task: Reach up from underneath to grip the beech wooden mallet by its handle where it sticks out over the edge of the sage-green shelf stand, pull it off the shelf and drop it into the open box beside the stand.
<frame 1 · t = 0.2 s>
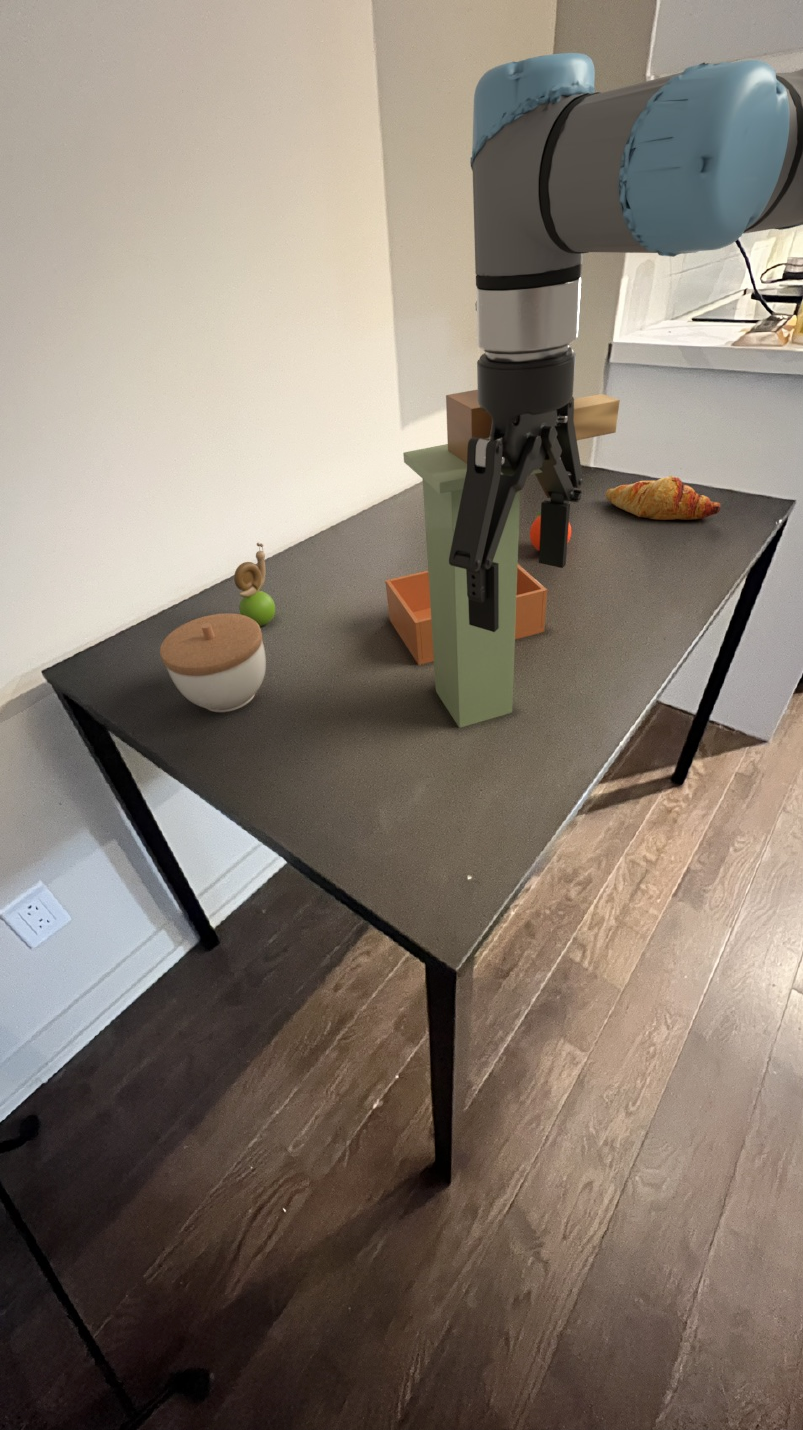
hand: (520, 594, 62), 18 cm above the table, tool pointing down, fingers open, 13 cm apart
lidded bowl: (229, 696, 84), on the table
shelf stand: (487, 697, 79), on the table
snail figurine: (264, 623, 99), on the table
croissant: (658, 512, 118), on the table
clementine: (547, 551, 109), on the table
open box: (464, 626, 92), on the table
mallet: (516, 447, 60), point 30 cm above the table, touching shelf stand
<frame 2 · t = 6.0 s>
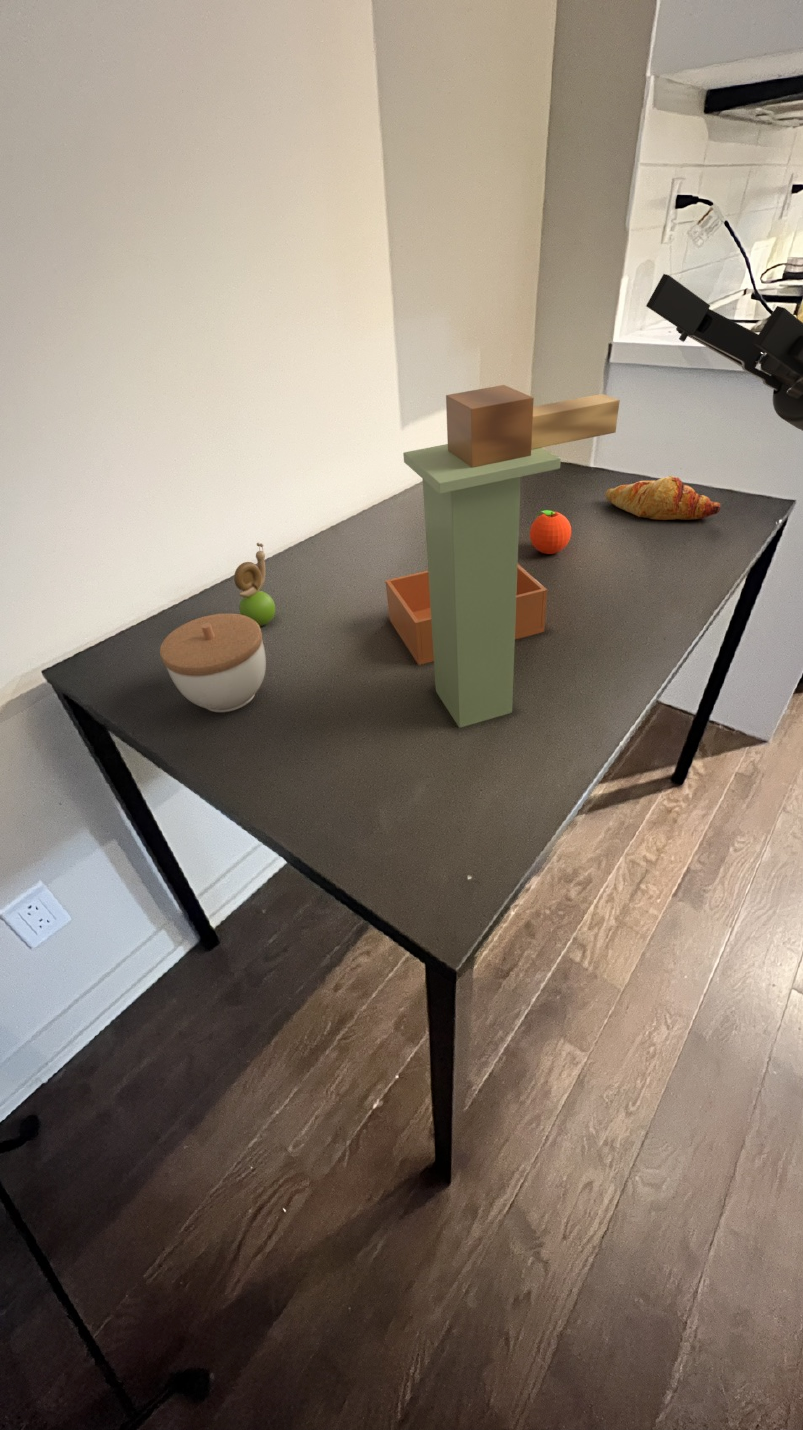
hand: (707, 306, 53), 40 cm above the table, tool pointing upward, fingers open, 13 cm apart
nothing on the table moved.
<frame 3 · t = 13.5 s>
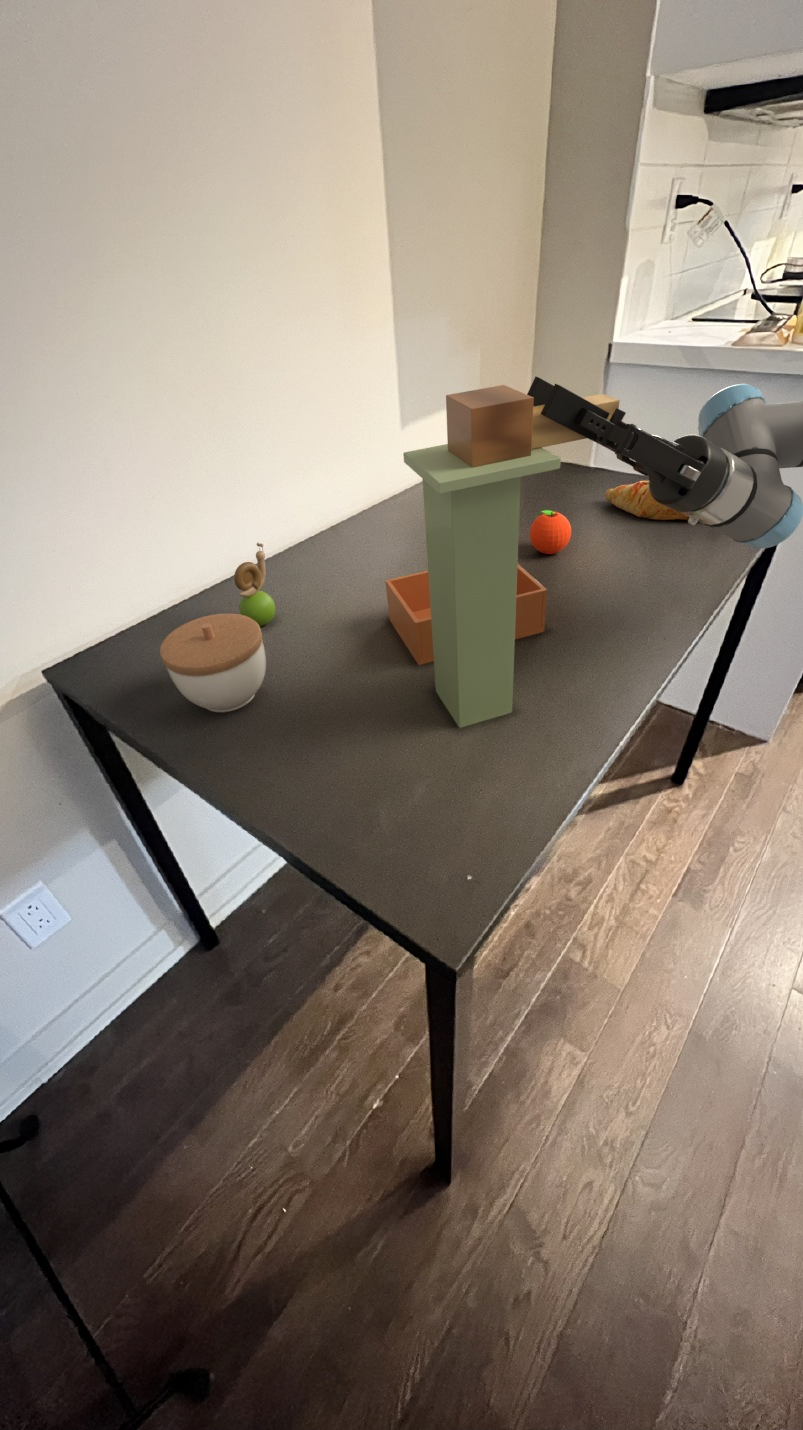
hand: (540, 395, 58), 34 cm above the table, tool pointing upward, fingers closed on mallet, 3 cm apart
mallet: (516, 447, 60), point 30 cm above the table, touching gripper, shelf stand
everything else where it was.
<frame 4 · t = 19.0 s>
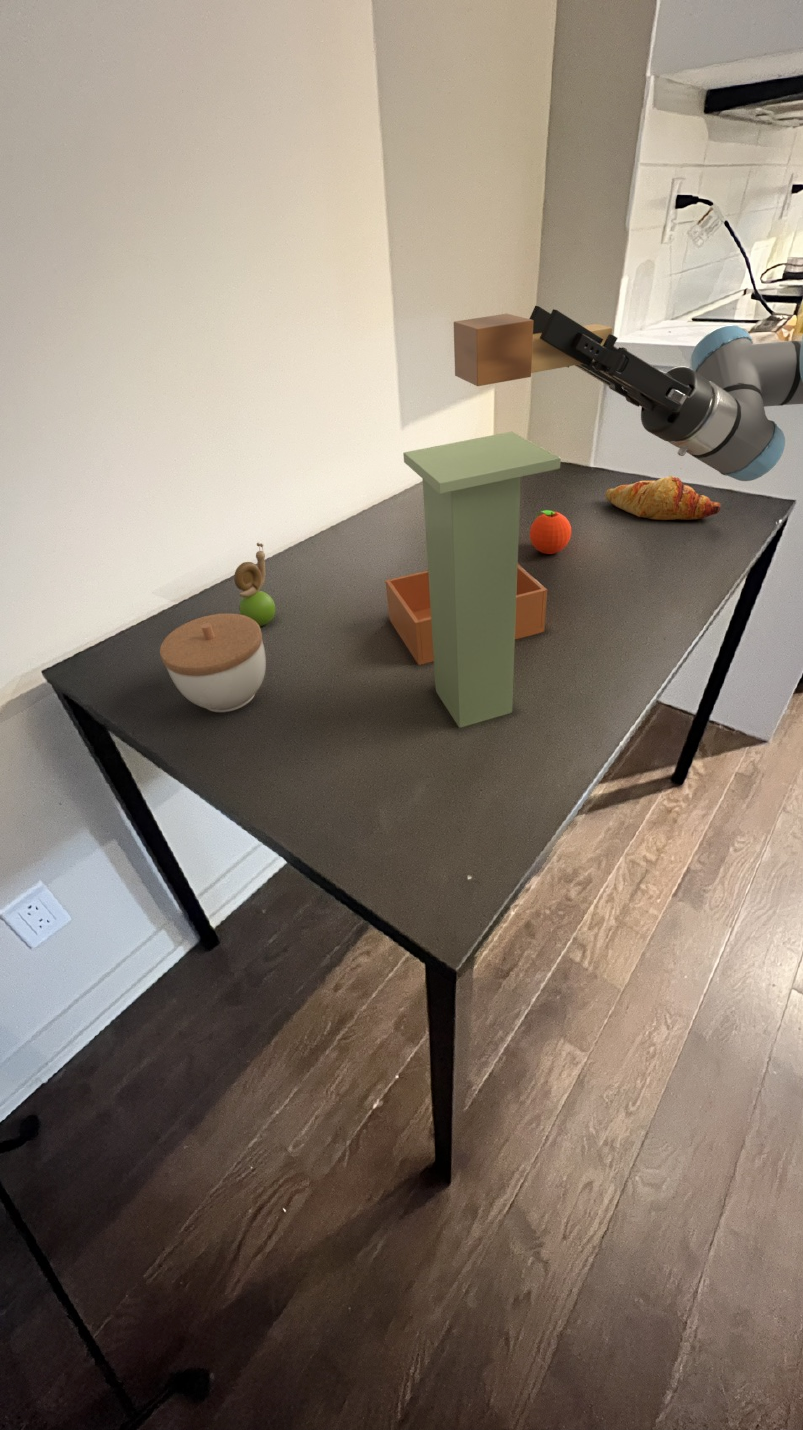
hand: (539, 322, 64), 39 cm above the table, tool pointing upward, fingers closed on mallet, 3 cm apart
mallet: (518, 371, 66), point 34 cm above the table, touching gripper
everything else where it was.
when the fingers open (23 cm above the table, at t = 24.7 s): mallet drops 15 cm, resting on open box.
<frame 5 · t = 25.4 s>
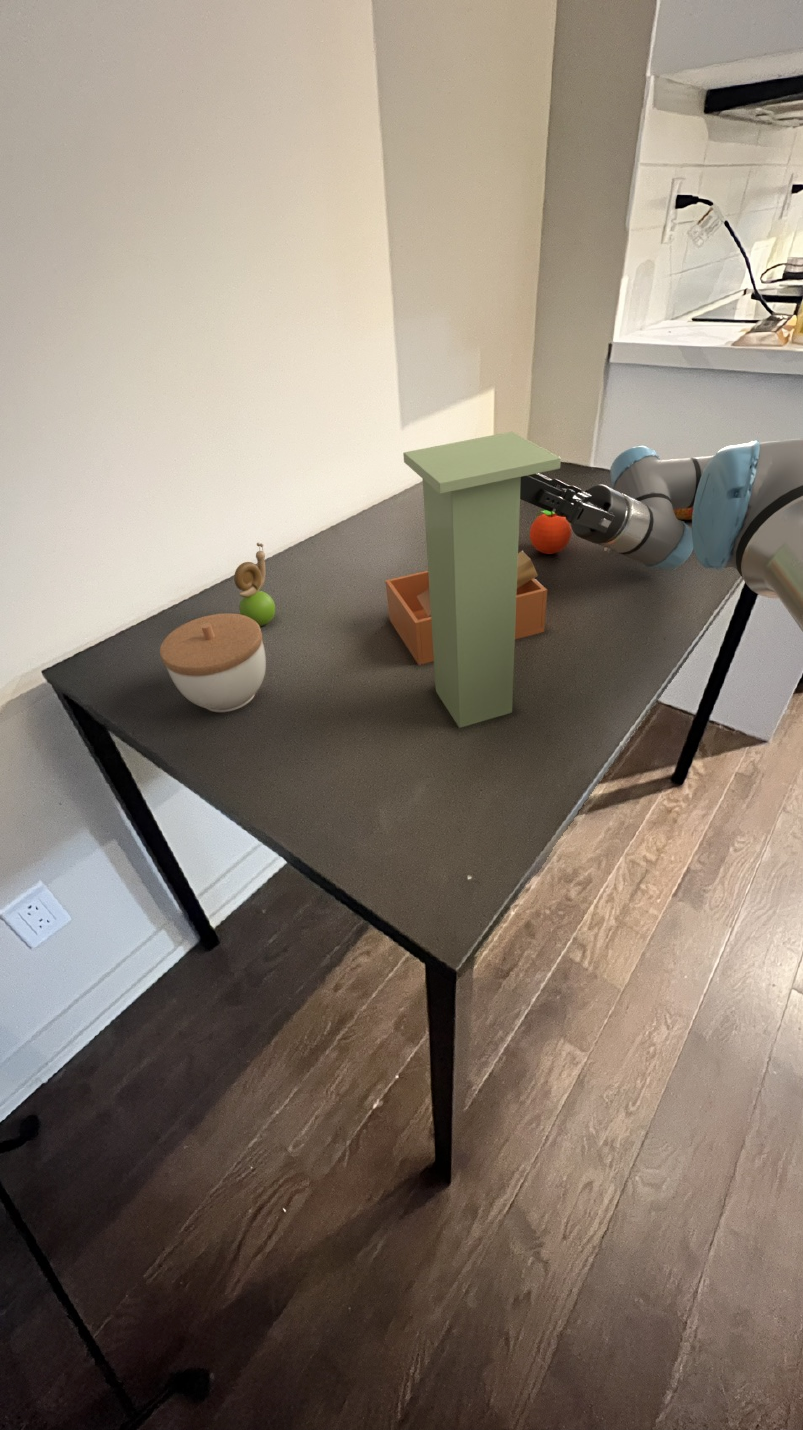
hand: (490, 467, 79), 22 cm above the table, tool pointing upward, fingers open, 13 cm apart
mallet: (472, 608, 90), point 3 cm above the table, tilted 24°, touching open box
everything else where it was.
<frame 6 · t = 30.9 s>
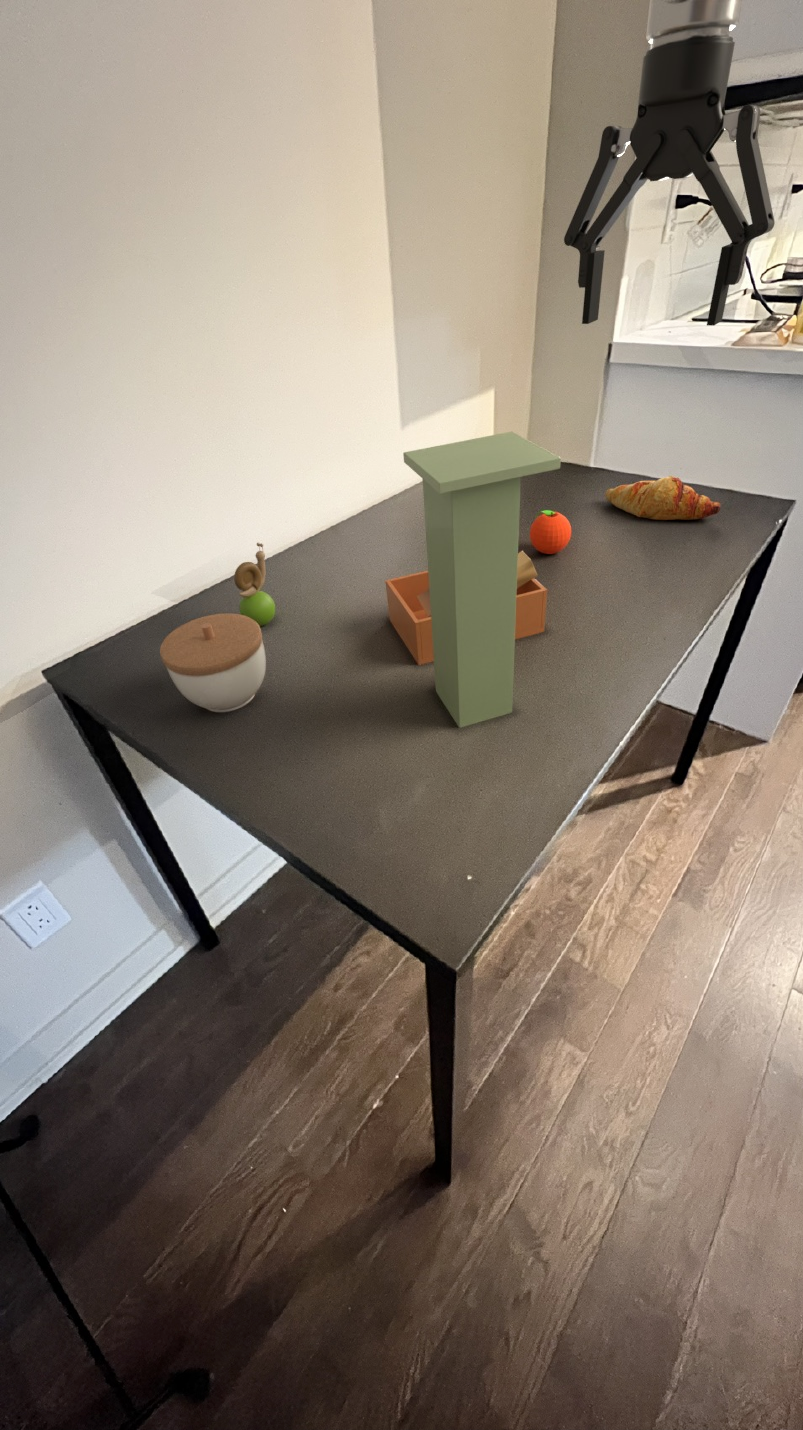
hand: (648, 322, 68), 37 cm above the table, tool pointing down, fingers open, 13 cm apart
nothing on the table moved.
at the end: mallet inside the target area in the open box (1.5 cm from its centre), point 3.2 cm above the open box's base; mallet moved 31.2 cm from its start; the gripper is holding nothing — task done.
